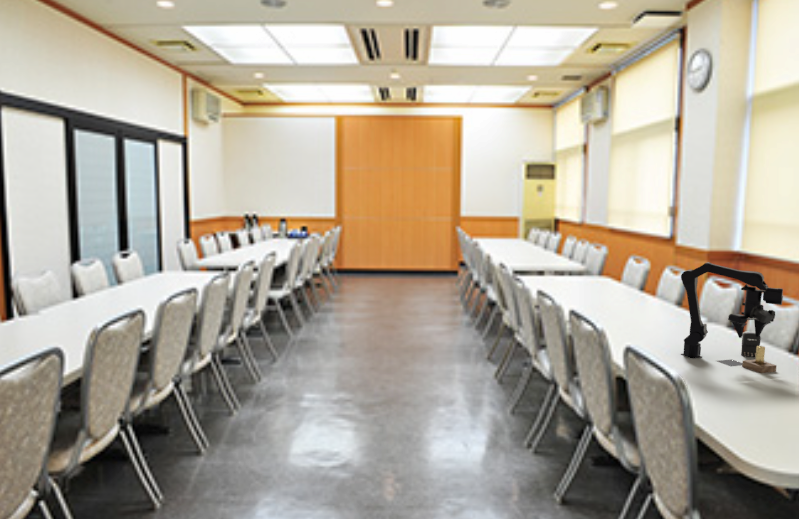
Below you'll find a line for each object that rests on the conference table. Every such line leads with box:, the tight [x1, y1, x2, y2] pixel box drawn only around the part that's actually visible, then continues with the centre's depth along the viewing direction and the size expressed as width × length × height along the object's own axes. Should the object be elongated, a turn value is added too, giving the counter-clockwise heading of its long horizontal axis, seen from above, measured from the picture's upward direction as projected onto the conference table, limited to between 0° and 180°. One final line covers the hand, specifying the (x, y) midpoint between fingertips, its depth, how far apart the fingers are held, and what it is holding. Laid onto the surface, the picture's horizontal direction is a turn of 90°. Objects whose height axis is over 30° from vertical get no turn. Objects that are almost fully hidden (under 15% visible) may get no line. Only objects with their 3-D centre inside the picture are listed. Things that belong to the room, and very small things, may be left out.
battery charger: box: [740, 331, 762, 359], centre depth 257 cm, size 7×4×11 cm, turn 68°
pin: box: [754, 345, 766, 365], centre depth 239 cm, size 3×3×10 cm
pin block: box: [741, 359, 777, 374], centre depth 239 cm, size 8×9×3 cm
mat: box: [716, 359, 743, 367], centre depth 247 cm, size 9×8×1 cm
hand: (748, 337), depth 243 cm, fingers open, 9 cm apart
